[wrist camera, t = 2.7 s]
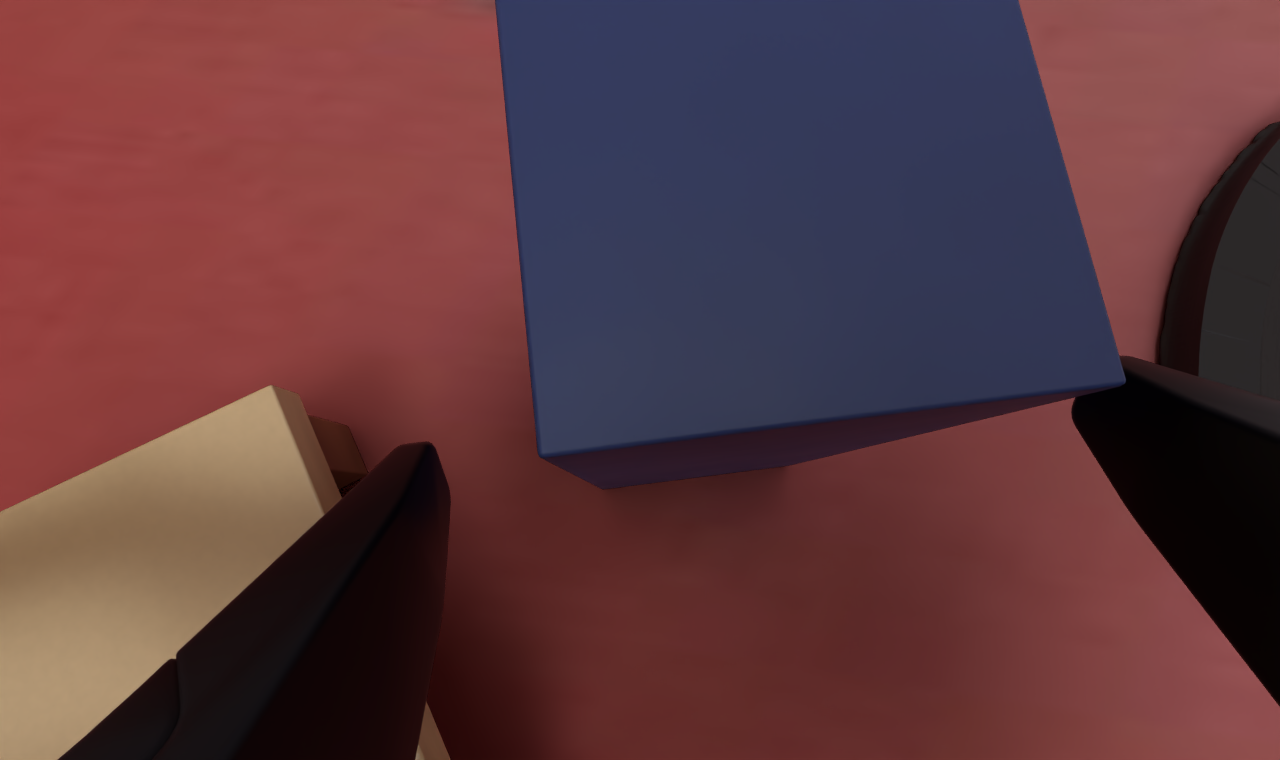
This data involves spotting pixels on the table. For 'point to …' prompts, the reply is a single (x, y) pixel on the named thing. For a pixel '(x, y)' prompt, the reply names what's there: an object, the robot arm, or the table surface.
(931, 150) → the navy carton
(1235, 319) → the fan shaped piece
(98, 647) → the wooden stand
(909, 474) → the table surface
